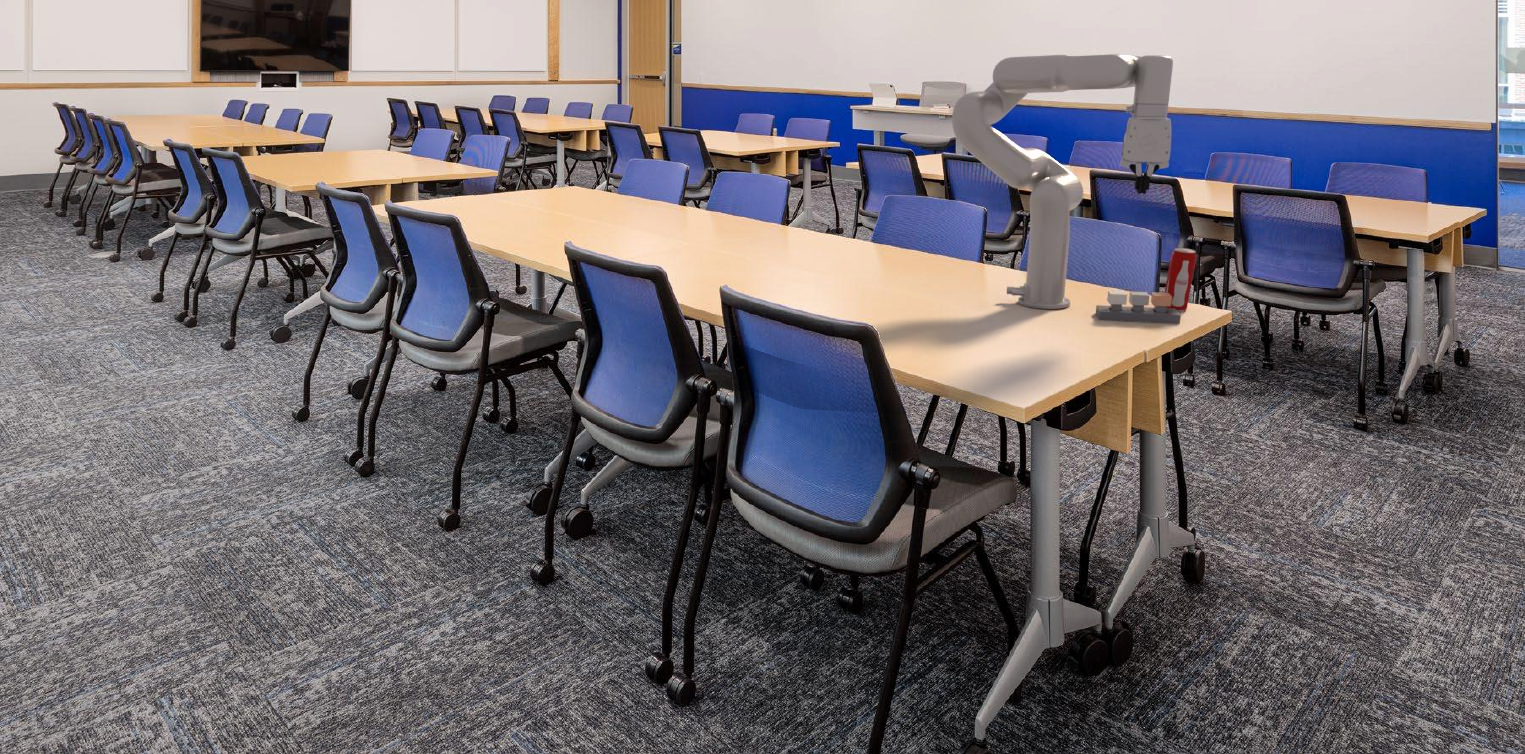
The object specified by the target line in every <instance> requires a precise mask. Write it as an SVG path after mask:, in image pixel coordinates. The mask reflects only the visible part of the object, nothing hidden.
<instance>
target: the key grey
mask: <svg viewBox="0 0 1525 754" xmlns="http://www.w3.org/2000/svg"><path fill="white" fill-rule="evenodd" d="M1150 297H1151V296H1150V294H1149V292H1147V291H1129V297H1128V302H1129V304H1130V305H1131V307H1132V311H1137V312H1143V311H1144V307H1145V306H1148V307H1149V305H1150V304H1149V302H1150Z"/></svg>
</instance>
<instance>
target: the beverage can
mask: <svg viewBox="0 0 1525 754" xmlns="http://www.w3.org/2000/svg"><path fill="white" fill-rule="evenodd" d="M1196 262H1197V251H1196V250H1195V249H1191V248H1187V247H1186V248H1185V247H1175V248H1173V251H1172V252H1171V254H1170V260H1169V265H1168V270H1167V276H1166V282H1165V288H1164V292H1163V293H1169V294H1170V295H1171V296H1172V300H1171V306H1166V308H1175V309H1176V310H1177V312H1178V313H1181V312H1185V311H1187V309H1188V304H1189V300H1190V299H1189V298H1190V293H1191V289H1192V283H1193V278H1194V273H1195V268H1196Z"/></svg>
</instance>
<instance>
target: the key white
mask: <svg viewBox="0 0 1525 754" xmlns="http://www.w3.org/2000/svg"><path fill="white" fill-rule="evenodd" d="M1127 300H1128V293H1127V292H1126V291H1123V290H1107V299H1106V301H1107V302H1108V304H1109V305H1110V306H1111V307H1110V310H1112V311H1121V310H1122V306H1127V302H1128V301H1127Z"/></svg>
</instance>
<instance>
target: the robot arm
mask: <svg viewBox="0 0 1525 754" xmlns="http://www.w3.org/2000/svg"><path fill="white" fill-rule="evenodd" d="M1173 67H1174V60H1173V58H1172V57H1171V56H1169V55H1160V54H1159V55H1155V54H1154V55H1152V54H1151V55H1143V56H1137V55H1131V54H1123V53H1121V54H1120V53H1112V54H1093V55H1091V54H1090V55H1067V54H1053V55H1051V54H1050V55H1030V56H1028V55H1026V56H1011V57H1006V58H1003V59H1002V60H1000V61H999V62H997V63H996V65H995V66H994V68H993V72H992V83H991V84H989V86H988V87H986V89H984V90H980V91H970V92H968V93H966V94H964V95H962V96H961V97H959V98H958V99H957V101H956V102H955V104H954V106H953V110H952V115H951V123H952V129H953V133H954V135H955V138H956V139H957V141H958V142H959V143H960V145H961V146H962V147H963V148H964V149H965V150H966V151H967V152H968V153H970V154H971V156H973V157H974V158H975V159H977V160H978V161H979V162H980V163H982V164H983V165H984V166H985V167H986V168H988V170H990V171H991V172H992V173H994V174H995V175H996V176H997V177H999V178H1000V179H1001V180H1002V181H1003V182H1004V183H1006V184H1007V185H1008V186H1009V187H1011V188H1014V189H1024V188H1028V189H1029V190H1030V191H1031V192H1030V196H1029V197H1030V198H1029V216H1030V217H1029V218H1030V220H1029V221H1030V222H1029V223H1030V224H1029V240H1028V241H1029V243H1028V256H1027V269H1026V280H1025V283H1023V285H1020V286H1019V287H1015V286H1006V295H1011V296H1015V297H1016V296H1019V297H1018V303H1019V305H1021V306H1024V307H1028V308H1033V309H1041V310H1057V309H1058V310H1059V309H1065V308H1068V307H1070V306H1071V300H1070V299H1068V298H1067V297H1065V293H1066V292H1065V291H1066V282H1067V270H1068V269H1067V268H1068V259H1069V258H1068V257H1069V250H1070V249H1069V248H1070V237H1071V236H1070V233H1071V220H1070V219H1071V218H1070V217H1071V216H1070V215H1071V214H1070V211H1072V210H1074V209H1075V208H1077V207H1078V206H1079V205H1080V203H1081V202H1082V200H1083V196H1084V187H1083V185H1082V183H1081V180H1080V179H1079V178H1078V177H1077V176H1076V175H1074V173H1072V172H1071V171H1069V169H1067V168H1066V167H1064V166H1063V165H1062V164H1061V163H1059V162H1058V161H1057V160H1055V159H1054V158H1053V157H1051V155H1049V154H1048V153H1046V152H1045V151H1043V150H1041V149H1038V148H1035V147H1025V148H1023V147H1021V146H1019V145H1017V143H1015V142H1014V141H1012V140H1011V139H1010V138H1009V137H1008V136H1006V135H1005V134H1003V133H1002V132H1001V131H999V130H997V129H996V128H994V127H993V126H992V125H995V124H996V123H998V122H999V121H1001V120H1002V119H1003V118H1004V117H1006V115H1007V114H1008V113H1009V112H1011V110H1012V109H1014V107H1016V106H1017V105H1018V104H1019V102H1021V101H1022V100H1023V99H1024V98H1025V97H1026V96H1027V95H1028V94H1035V93H1036V94H1040V93H1041V94H1042V93H1046V94H1047V93H1063V92H1067V91H1079V90H1081V91H1083V90H1116V89H1118V90H1119V89H1127V88H1128V89H1129V88H1134V95H1133V103H1132V105H1130V106H1126V108H1125V113H1126V114H1127V113H1129V114H1131V117H1128V120H1127V124H1126V127H1125V131H1124V137H1123V141H1122V148H1121V149H1122V150H1121V159H1120V162H1119V166H1120V167H1121V168H1125V169H1128V170H1131V172H1132V173H1133V174H1134V175H1135V179H1134V186H1133V187H1134V190H1136V194H1139V195H1141V194H1143V195H1146V194H1147V191H1149V189H1150V182H1151V177H1152V176H1153V174H1155V173H1156V172H1157V171H1158V170H1161V169H1167V168H1169V167H1170V157H1171V149H1172V121H1171V118H1168V110H1169V103H1170V102H1169V101H1170V93H1171V84H1172V76H1173V69H1174V68H1173ZM1142 164H1146V168H1145V171H1144V172H1142Z"/></svg>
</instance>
